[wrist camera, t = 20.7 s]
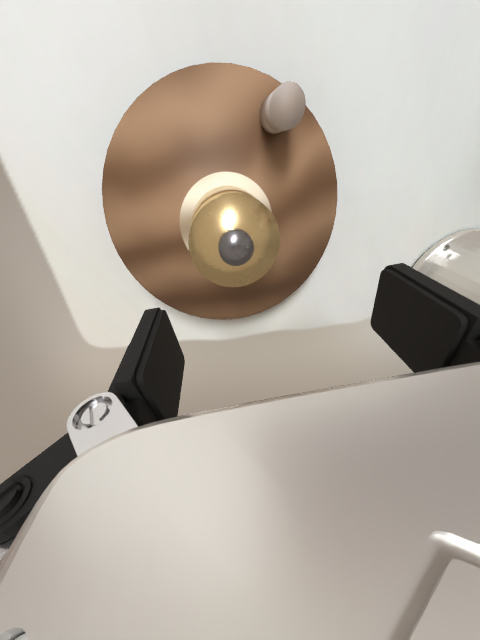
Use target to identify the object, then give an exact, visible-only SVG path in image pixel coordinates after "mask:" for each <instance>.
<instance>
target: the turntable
mask: <svg viewBox="0 0 480 640" xmlns="http://www.w3.org/2000/svg"><path fill="white" fill-rule="evenodd" d="M226 185H228V186H236V187H239V188H242V189H244V190H246V191H247V192H248V193H250V194H251V195H252V196H254V197H255V198H256V199H258V200H259V201H260V202H262V203H263V204H264V205H265V206H266V207H267V208H268V209H269V210H270V211H271V213H272V214H273V216H274V217H275V219H276V222H277V224H278V227H279V232H280V247H279V252H278V255H277V258H276V260H275V262H274V264H273V265H272V267H271V268H270V270H269V271H268V272H267V273H266V274H265V275H264V276H263V277H261V278H260V279H259V280H257V281H255V282H253V283H251V284H249V285H245V286H241V287H225V286H221V285H218V284H215V283H213V282H211V281H210V280H208V279H207V278H205V277H204V276H203V275H202V274H201V273H200V272H199V271H198V269H197V268H196V267H195V265H194V263H193V261H192V259H191V256H190V252H189V245H188V239H189V232H190V226H191V220H192V215H193V211H194V208H195V206H196V204H197V203H198V201H199V200H200V198H201V197H202V196H203V195H204V194H205V193H207V192H208V191H210V190H211V189H214V188H216V187H219V186H226ZM102 195H103V208H104V213H105V219H106V224H107V227H108V230H109V233H110V236H111V239H112V241H113V244H114V246H115V248H116V250H117V252H118V254H119V256H120V258H121V259H122V261H123V263H124V264H125V266H126V267H127V269H128V270H129V271H130V273H131V274H132V275H133V276H134V278H135V279H136V280H137V281H138V282H139V283H140V284H141V285H142V286H143V287H144V288H145V289H146V290H147V291H148V292H150V293H151V294H152V295H153V296H155V297H156V298H157V299H159V300H161V301H162V302H164V303H165V304H167V305H169V306H171V307H173V308H175V309H177V310H179V311H182V312H184V313H187V314H190V315H194V316H198V317H202V318H210V319H234V318H241V317H246V316H250V315H253V314H256V313H259V312H262V311H264V310H266V309H269V308H271V307H273V306H274V305H276V304H278V303H280V302H281V301H283V300H284V299H285V298H287V297H288V296H290V295H291V294H292V293H293V292H294V291H295V290H296V289H298V288H299V287H300V286H301V285H302V283H303V282H304V281H305V280H306V279H307V278H308V277H309V275H310V274H311V273H312V271H313V270H314V269H315V267H316V266H317V264H318V262H319V260H320V259H321V257H322V255H323V253H324V251H325V249H326V246H327V244H328V242H329V239H330V235H331V232H332V229H333V225H334V220H335V215H336V206H337V179H336V172H335V165H334V161H333V158H332V154H331V151H330V147H329V145H328V142H327V140H326V138H325V135H324V133H323V131H322V129H321V127H320V126H319V124H318V122H317V120H316V119H315V117H314V115H313V114H312V113H311V111H310V110H309V109H308V108H307V107H306V105H305V96H304V93H303V90H302V89H301V87H300V86H299V85H298V84H296V83H295V82H290V81H289V82H285V83H280V82H279V81H277V80H276V79H274V78H273V77H271V76H269V75H267V74H265V73H262V72H260V71H258V70H255V69H253V68H250V67H245V66H241V65H236V64H232V63H206V64H199V65H193V66H189V67H186V68H183V69H181V70H178V71H175V72H172V73H170V74H169V75H167V76H165V77H164V78H162V79H160V80H158V81H157V82H155V83H153V84H152V85H151V86H150V87H149V88H148V89H146V90H145V91H144V92H143V93H142V94H141V95H140V96H138V97H137V99H136V100H135V101H134V102H133V104H132V105H131V106H130V107H129V109H128V110H127V111H126V112H125V114H124V115H123V117H122V119H121V121H120V122H119V124H118V126H117V128H116V129H115V131H114V134H113V137H112V139H111V142H110V145H109V147H108V150H107V155H106V159H105V164H104V169H103V181H102Z"/></svg>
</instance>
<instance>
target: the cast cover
mask: <svg viewBox="0 0 480 640" xmlns="http://www.w3.org/2000/svg"><path fill="white" fill-rule="evenodd" d="M188 245H189V252H190V256H191V259H192V261H193V263H194V265H195V267H196V268H197V269H198V271H199V272H200V273H201V274H202V275H203V276H204V277H205V278H207V279H208V280H210V281H211V282H213V283H215V284H218V285H221V286H225V287H241V286H245V285H249V284H251V283H253V282H255V281H257V280H259V279H260V278H261V277H263V276H264V275H265V274H266V273H267V272H268V271H269V270H270V268H271V267H272V265H273V264H274V262H275V260H276V258H277V255H278V252H279V247H280V232H279V227H278V224H277V222H276V219H275V217H274V216H273V214H272V213H271V211H270V210H269V209H268V208H267V207H266V206H265V205H264V204H263V203H262V202H260V201H259V200H258V199H256V198H255V197H254V196H252V195H251V194H250V193H248V192H247V191H246V190H244V189H242V188H239V187H236V186H228V185H226V186H219V187H216V188H214V189H211V190H210V191H208V192H207V193H205V194H204V195H203V196H202V197H201V198H200V200H199V201H198V203H197V204H196V206H195V208H194V211H193V215H192V220H191V226H190V232H189V239H188Z"/></svg>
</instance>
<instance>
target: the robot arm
mask: <svg viewBox="0 0 480 640" xmlns="http://www.w3.org/2000/svg"><path fill="white" fill-rule="evenodd" d="M371 326H372V328H373V330H374V331H375V332H376V333H377V334H378V335H379V336H380V337H381V338H382V339H383V340H384V341H385V342H386V343H387V344H388V345H389V347H390V348H391V349H392V350H393V351H394V352H395V353H396V354H397V355H398V356H399V357H400V358H401V359H402V360H403V361H404V362H405V363H406V364H407V366H408V367H409V368H410V369H411V370H412V371H413V372H414V373H410V374H404V375H399V376H393V377H387V378H381V379H376V380H371V381H365V382H359V383H353V384H348V385H342V386H337V387H331V388H326V389H321V390H314V391H309V392H303V393H298V394H292V395H287V396H282V397H276V398H271V399H265V400H260V401H255V402H249V403H244V404H239V405H233V406H228V407H222V408H217V409H213V410H207V411H202V412H197V413H192V414H188V415H182V416H177V415H178V408H179V400H180V392H181V386H182V378H183V371H184V362H185V360H184V355H183V353H182V350H181V348H180V345H179V343H178V340H177V338H176V335H175V333H174V330H173V328H172V325H171V323H170V320H169V318H168V315H167V313H166V311H165V310H161V309H160V308H154V309H148V310H145V311H144V314H143V316H142V318H141V320H140V323H139V325H138V327H137V329H136V332H135V334H134V336H133V338H132V340H131V343H130V344H129V346H128V348H127V350H126V352H125V355H124V357H123V359H122V361H121V364H120V366H119V368H118V370H117V372H116V374H115V377H114V379H113V381H112V383H111V386H110V388H109V390H108V392H102V393H98V394H95V395H93V396H91V397H89V398H87V399H85V400H84V401H83V402H82V403H80V404H79V405H78V406H77V407H76V408H75V409H74V410H73V411H72V413H71V415H70V416H69V418H68V421H67V431H68V433H67V434H66V435H64V436H63V437H62V438H60V439H59V440H58V441H56V442H55V443H54V444H53V445H51V446H50V447H49V448H47V449H46V450H45V451H43V452H42V453H41V454H39V455H38V456H37V457H35V458H34V459H33V460H32V461H30V462H29V463H28V464H26V465H25V466H24V467H22V468H21V469H20V470H19V471H17V472H16V473H15V474H13V475H12V476H11V477H9V478H8V479H7V480H5V481H4V482H3V483H1V484H0V640H480V230H479V229H468V230H463V231H459V232H457V233H454V234H451V235H449V236H448V237H446V238H444V239H442V240H440V241H439V242H438V243H436V244H435V245H433V246H432V247H431V248H430V249H429V250H427V251H426V252H425V253H424V254H423V255H422V256H421V257H420V259H419V260H418V261H417V262H416V263H415V265H414V266H413V268H411V267H410V266H408V265H406V264H404V263H400V264H394V265H389V266H387V267H386V268H385V269H384V270H383V271H382V272H381V274H380V279H379V284H378V289H377V293H376V298H375V303H374V308H373V313H372V317H371Z"/></svg>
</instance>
